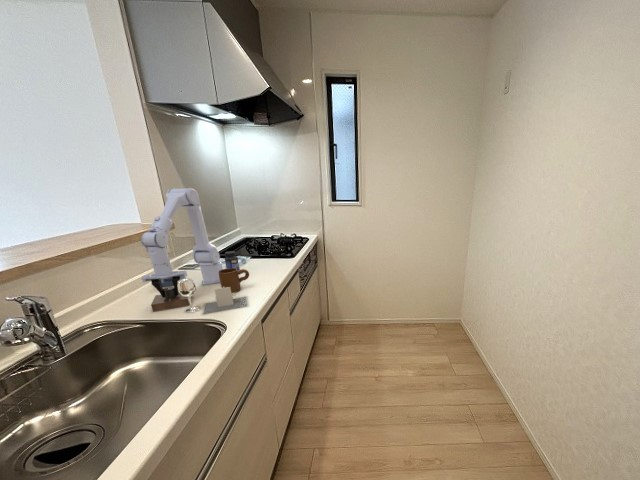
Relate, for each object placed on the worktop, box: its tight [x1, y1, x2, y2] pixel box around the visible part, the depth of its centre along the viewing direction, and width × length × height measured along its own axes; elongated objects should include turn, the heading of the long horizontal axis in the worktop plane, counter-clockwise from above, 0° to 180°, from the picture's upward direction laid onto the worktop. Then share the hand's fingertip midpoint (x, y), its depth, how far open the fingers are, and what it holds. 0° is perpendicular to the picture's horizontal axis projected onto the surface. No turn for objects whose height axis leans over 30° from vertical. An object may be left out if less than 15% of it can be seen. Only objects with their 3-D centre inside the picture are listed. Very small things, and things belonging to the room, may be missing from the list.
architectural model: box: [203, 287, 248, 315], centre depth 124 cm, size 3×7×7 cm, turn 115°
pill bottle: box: [224, 250, 241, 271], centre depth 162 cm, size 6×6×11 cm
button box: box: [161, 276, 187, 288], centre depth 149 cm, size 10×10×4 cm
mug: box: [219, 268, 250, 293], centre depth 138 cm, size 12×8×9 cm, turn 111°
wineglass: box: [177, 278, 200, 313], centre depth 118 cm, size 6×6×12 cm
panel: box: [150, 294, 192, 313], centre depth 126 cm, size 12×11×3 cm
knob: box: [163, 286, 176, 299], centre depth 124 cm, size 4×4×4 cm
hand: (170, 295), depth 125 cm, fingers closed on knob, 4 cm apart
